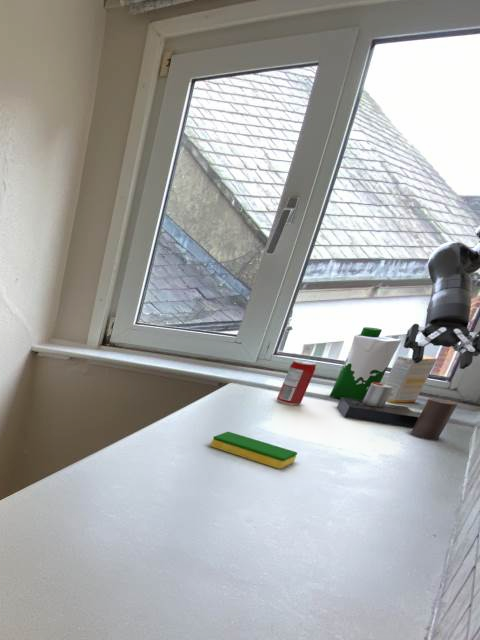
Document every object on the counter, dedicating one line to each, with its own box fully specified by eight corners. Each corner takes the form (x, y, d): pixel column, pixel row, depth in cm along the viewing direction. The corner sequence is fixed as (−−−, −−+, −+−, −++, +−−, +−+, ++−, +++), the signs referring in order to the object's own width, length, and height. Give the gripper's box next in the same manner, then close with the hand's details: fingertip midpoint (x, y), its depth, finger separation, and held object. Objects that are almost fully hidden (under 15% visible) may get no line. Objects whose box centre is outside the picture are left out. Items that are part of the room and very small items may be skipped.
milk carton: (340, 392, 168) (371, 326, 159) (376, 401, 160) (410, 332, 151) (324, 395, 164) (354, 327, 155) (359, 404, 157) (393, 334, 148)
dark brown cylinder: (433, 435, 136) (453, 400, 132) (441, 441, 132) (461, 405, 128) (407, 430, 138) (425, 396, 134) (413, 436, 134) (432, 401, 130)
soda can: (301, 402, 156) (319, 361, 151) (298, 406, 153) (316, 364, 147) (277, 398, 160) (294, 357, 154) (274, 401, 156) (291, 360, 151)
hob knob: (381, 404, 147) (391, 383, 145) (385, 408, 144) (396, 387, 141) (360, 401, 149) (370, 380, 147) (364, 405, 146) (374, 384, 143)
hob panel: (401, 417, 148) (407, 406, 146) (413, 428, 140) (419, 416, 138) (336, 407, 154) (341, 396, 152) (344, 417, 146) (349, 406, 144)
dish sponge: (279, 469, 113) (284, 458, 112) (209, 446, 123) (213, 436, 122) (293, 462, 116) (298, 452, 115) (224, 440, 127) (228, 431, 126)
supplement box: (398, 397, 165) (420, 354, 159) (415, 402, 161) (439, 358, 155) (375, 397, 164) (397, 354, 158) (392, 403, 160) (415, 358, 154)
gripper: (420, 298, 140) (412, 351, 136) (497, 305, 134) (490, 360, 130) (403, 316, 147) (395, 367, 143) (475, 323, 141) (469, 377, 137)
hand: (440, 364), depth 137 cm, fingers open, 8 cm apart
